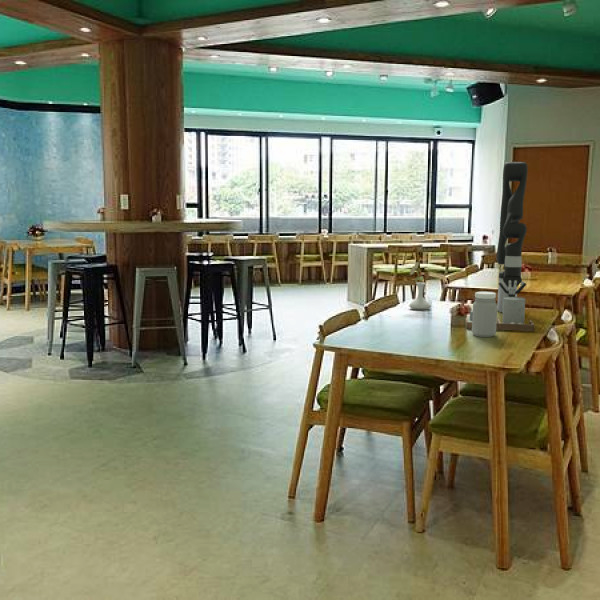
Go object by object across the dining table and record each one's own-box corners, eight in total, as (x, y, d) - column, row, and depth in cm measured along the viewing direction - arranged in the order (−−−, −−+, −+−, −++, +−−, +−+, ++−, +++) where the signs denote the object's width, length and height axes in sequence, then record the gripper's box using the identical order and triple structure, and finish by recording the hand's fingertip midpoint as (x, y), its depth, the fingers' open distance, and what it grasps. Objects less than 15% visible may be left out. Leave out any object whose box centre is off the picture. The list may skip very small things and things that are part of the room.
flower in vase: (418, 306, 346) (419, 260, 343) (435, 309, 338) (437, 261, 334) (402, 309, 338) (403, 261, 334) (419, 312, 329) (420, 263, 326)
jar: (500, 337, 268) (502, 294, 265) (478, 338, 266) (480, 294, 264) (489, 332, 278) (491, 290, 275) (467, 333, 276) (469, 291, 273)
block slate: (470, 318, 312) (471, 310, 311) (479, 319, 310) (479, 310, 310) (469, 319, 308) (470, 311, 307) (478, 320, 306) (478, 312, 306)
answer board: (465, 324, 296) (465, 316, 296) (530, 326, 290) (531, 319, 290) (466, 329, 284) (466, 321, 284) (534, 331, 278) (534, 324, 278)
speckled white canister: (521, 323, 299) (522, 296, 297) (526, 327, 289) (527, 300, 287) (500, 322, 300) (501, 296, 298) (504, 326, 290) (505, 299, 288)
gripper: (526, 265, 305) (525, 301, 308) (497, 265, 308) (496, 301, 310) (528, 266, 298) (527, 303, 300) (499, 266, 301) (497, 303, 303)
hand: (511, 302), depth 305 cm, fingers closed
